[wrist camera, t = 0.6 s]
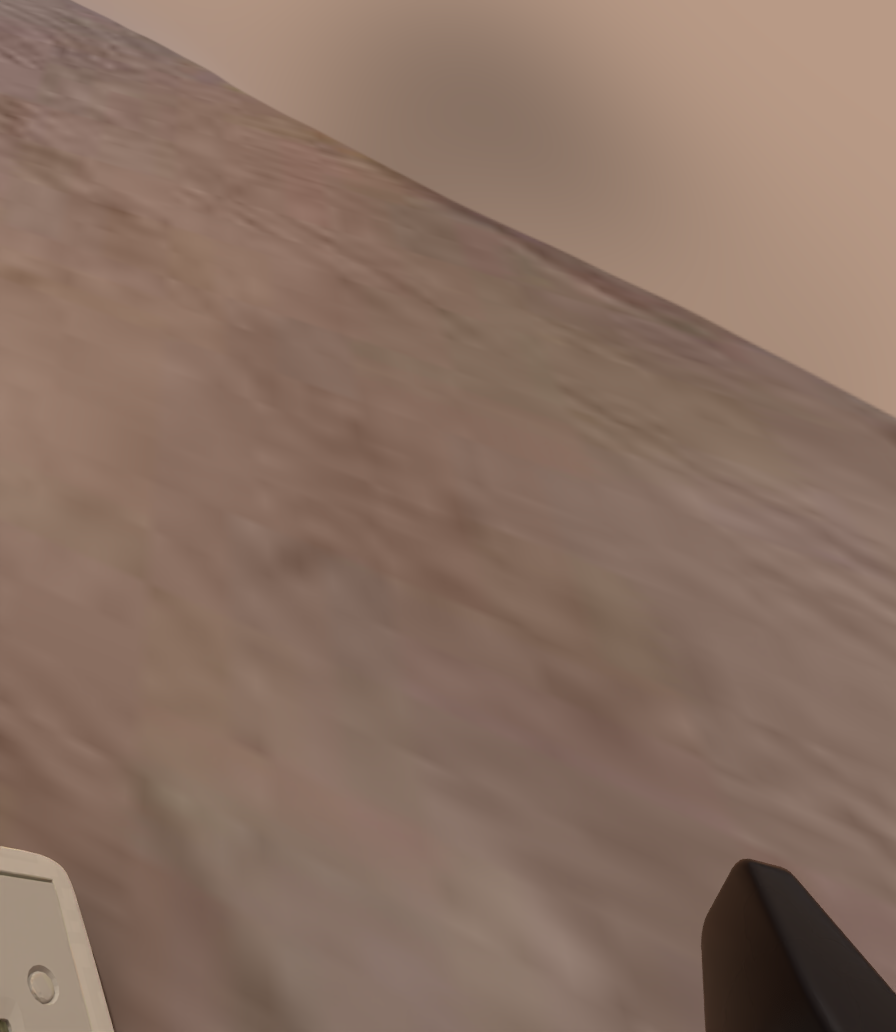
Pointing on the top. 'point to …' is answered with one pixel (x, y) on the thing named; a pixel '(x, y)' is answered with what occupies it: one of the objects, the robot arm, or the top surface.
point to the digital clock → (45, 951)
